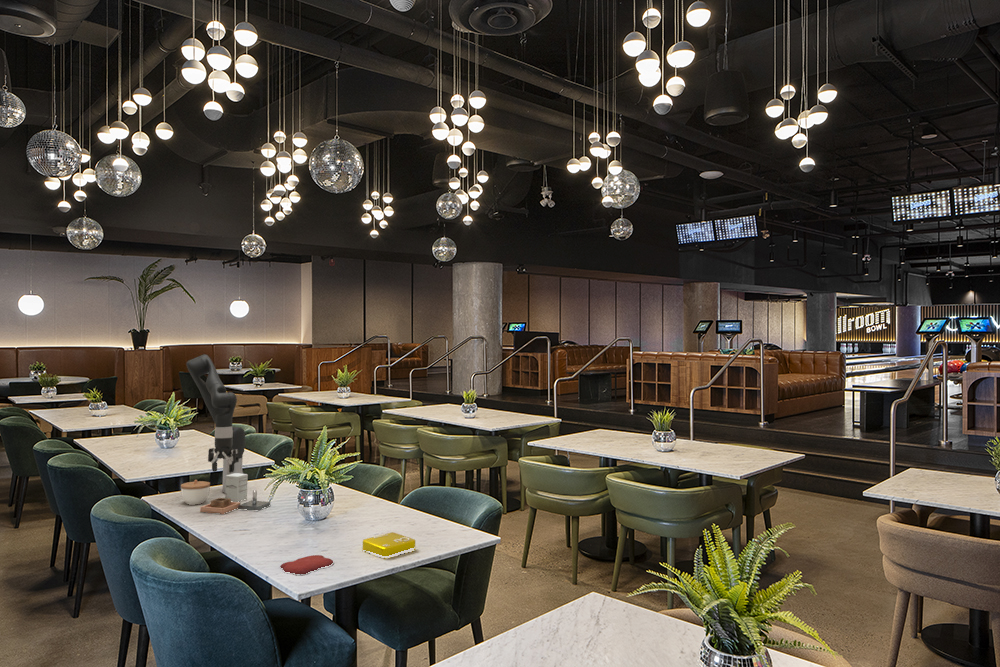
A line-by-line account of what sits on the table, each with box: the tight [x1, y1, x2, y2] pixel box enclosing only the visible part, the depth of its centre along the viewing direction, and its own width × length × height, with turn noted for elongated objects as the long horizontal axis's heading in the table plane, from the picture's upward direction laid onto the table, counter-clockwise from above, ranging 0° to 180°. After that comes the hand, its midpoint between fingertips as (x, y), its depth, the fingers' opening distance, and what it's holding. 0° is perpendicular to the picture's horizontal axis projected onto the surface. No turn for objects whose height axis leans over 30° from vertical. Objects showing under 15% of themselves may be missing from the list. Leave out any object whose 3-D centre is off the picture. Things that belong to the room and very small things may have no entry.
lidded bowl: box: [180, 479, 211, 506], centre depth 300 cm, size 13×13×11 cm
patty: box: [279, 554, 334, 574], centre depth 216 cm, size 18×14×2 cm
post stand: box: [237, 489, 271, 511], centre depth 292 cm, size 10×10×8 cm
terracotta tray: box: [199, 502, 242, 515], centre depth 287 cm, size 12×12×2 cm
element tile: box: [362, 532, 416, 556], centre depth 234 cm, size 15×15×5 cm
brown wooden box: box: [210, 497, 231, 508], centre depth 287 cm, size 6×6×4 cm
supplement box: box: [224, 473, 249, 502], centre depth 306 cm, size 7×7×13 cm
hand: (223, 471), depth 288 cm, fingers open, 8 cm apart
